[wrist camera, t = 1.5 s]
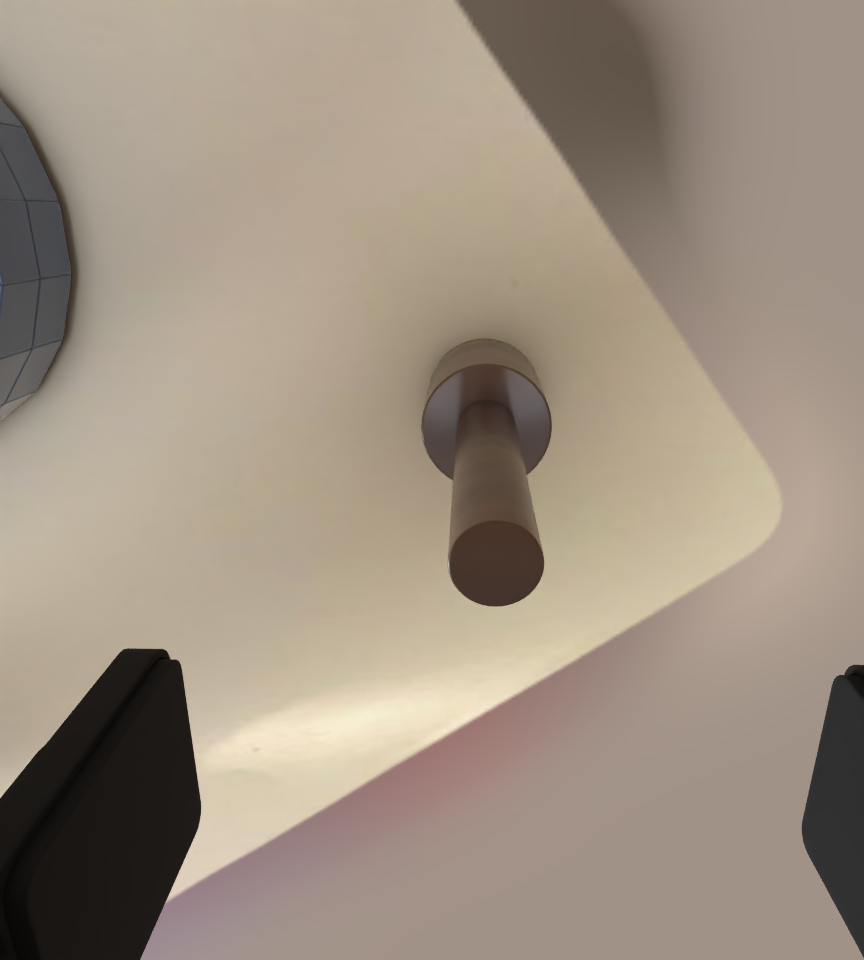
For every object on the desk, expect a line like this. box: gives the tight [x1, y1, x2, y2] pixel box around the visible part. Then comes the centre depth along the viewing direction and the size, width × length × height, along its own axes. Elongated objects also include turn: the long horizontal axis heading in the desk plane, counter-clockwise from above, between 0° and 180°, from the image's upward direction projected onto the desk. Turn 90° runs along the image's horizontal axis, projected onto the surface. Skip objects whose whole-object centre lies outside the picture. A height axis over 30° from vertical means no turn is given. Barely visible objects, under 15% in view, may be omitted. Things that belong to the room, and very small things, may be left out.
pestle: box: [421, 339, 552, 606], centre depth 22 cm, size 4×4×15 cm
